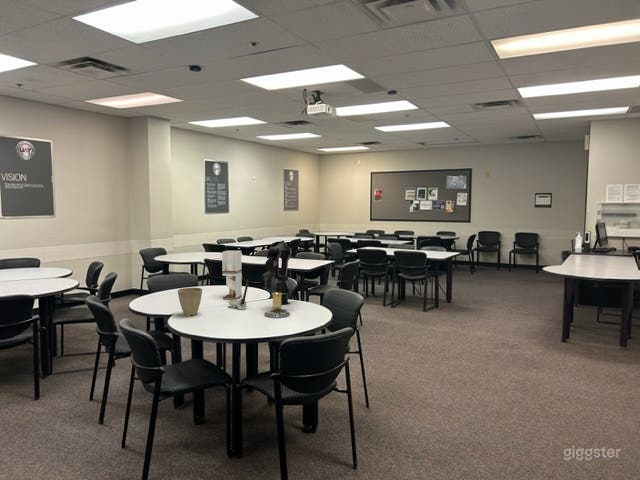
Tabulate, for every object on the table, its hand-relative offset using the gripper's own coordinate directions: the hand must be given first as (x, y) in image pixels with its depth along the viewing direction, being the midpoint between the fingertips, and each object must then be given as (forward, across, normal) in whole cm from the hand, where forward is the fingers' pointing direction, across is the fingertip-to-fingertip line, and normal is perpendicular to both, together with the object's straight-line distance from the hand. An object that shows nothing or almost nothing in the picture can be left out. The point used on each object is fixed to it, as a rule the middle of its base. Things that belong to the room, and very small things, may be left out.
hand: (274, 290), depth 296 cm
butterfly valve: (+13, -24, -11) cm, 30 cm away
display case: (+13, -50, +9) cm, 53 cm away
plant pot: (+13, -33, -42) cm, 55 cm away
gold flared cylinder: (+12, +11, -10) cm, 19 cm away
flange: (+13, +11, -10) cm, 20 cm away
